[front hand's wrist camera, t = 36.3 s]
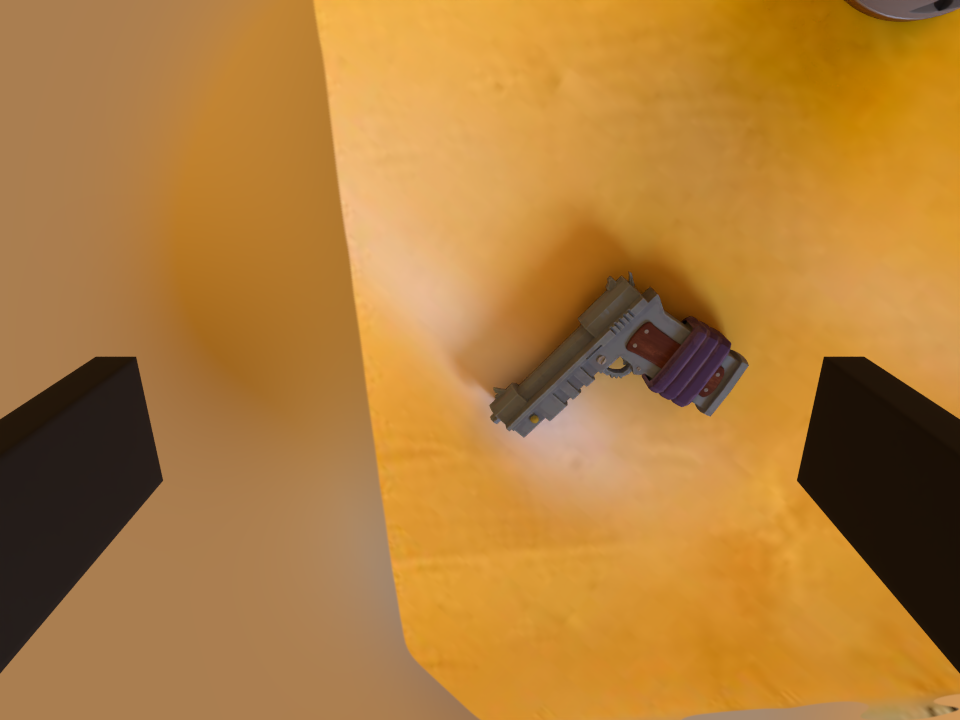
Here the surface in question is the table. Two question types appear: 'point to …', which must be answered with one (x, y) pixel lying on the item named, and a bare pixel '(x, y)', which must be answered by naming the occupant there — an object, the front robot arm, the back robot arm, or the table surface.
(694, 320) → the toy gun
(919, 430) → the front robot arm
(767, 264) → the table surface
